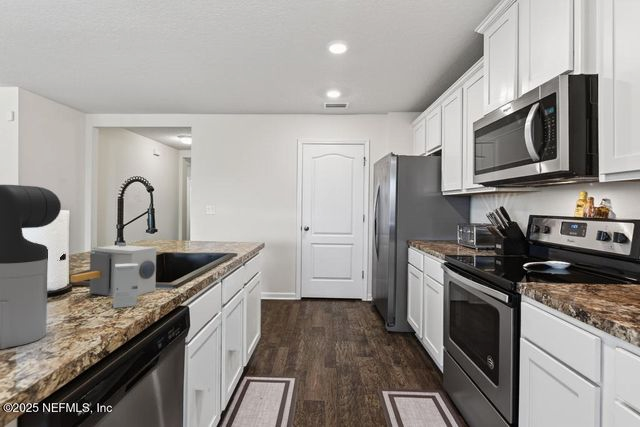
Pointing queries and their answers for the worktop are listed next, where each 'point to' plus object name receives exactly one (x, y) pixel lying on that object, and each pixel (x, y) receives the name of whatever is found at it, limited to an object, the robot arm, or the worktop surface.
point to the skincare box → (125, 285)
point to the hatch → (96, 274)
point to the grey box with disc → (132, 255)
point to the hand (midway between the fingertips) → (63, 256)
